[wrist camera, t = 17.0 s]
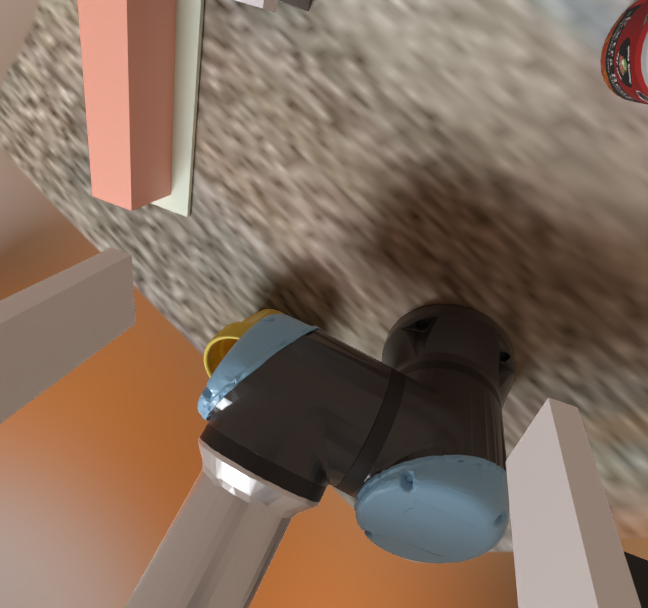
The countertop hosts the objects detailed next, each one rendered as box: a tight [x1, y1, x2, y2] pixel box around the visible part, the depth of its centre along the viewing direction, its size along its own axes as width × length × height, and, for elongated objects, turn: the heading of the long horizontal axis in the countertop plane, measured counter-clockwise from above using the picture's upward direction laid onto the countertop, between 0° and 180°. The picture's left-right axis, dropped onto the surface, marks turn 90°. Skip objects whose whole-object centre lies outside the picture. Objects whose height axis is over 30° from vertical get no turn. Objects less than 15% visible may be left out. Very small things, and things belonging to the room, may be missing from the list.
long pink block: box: [78, 0, 177, 211], centre depth 43 cm, size 20×5×7 cm, turn 166°
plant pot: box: [204, 309, 286, 377], centre depth 53 cm, size 10×10×10 cm
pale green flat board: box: [152, 0, 204, 217], centre depth 46 cm, size 24×10×1 cm, turn 166°
